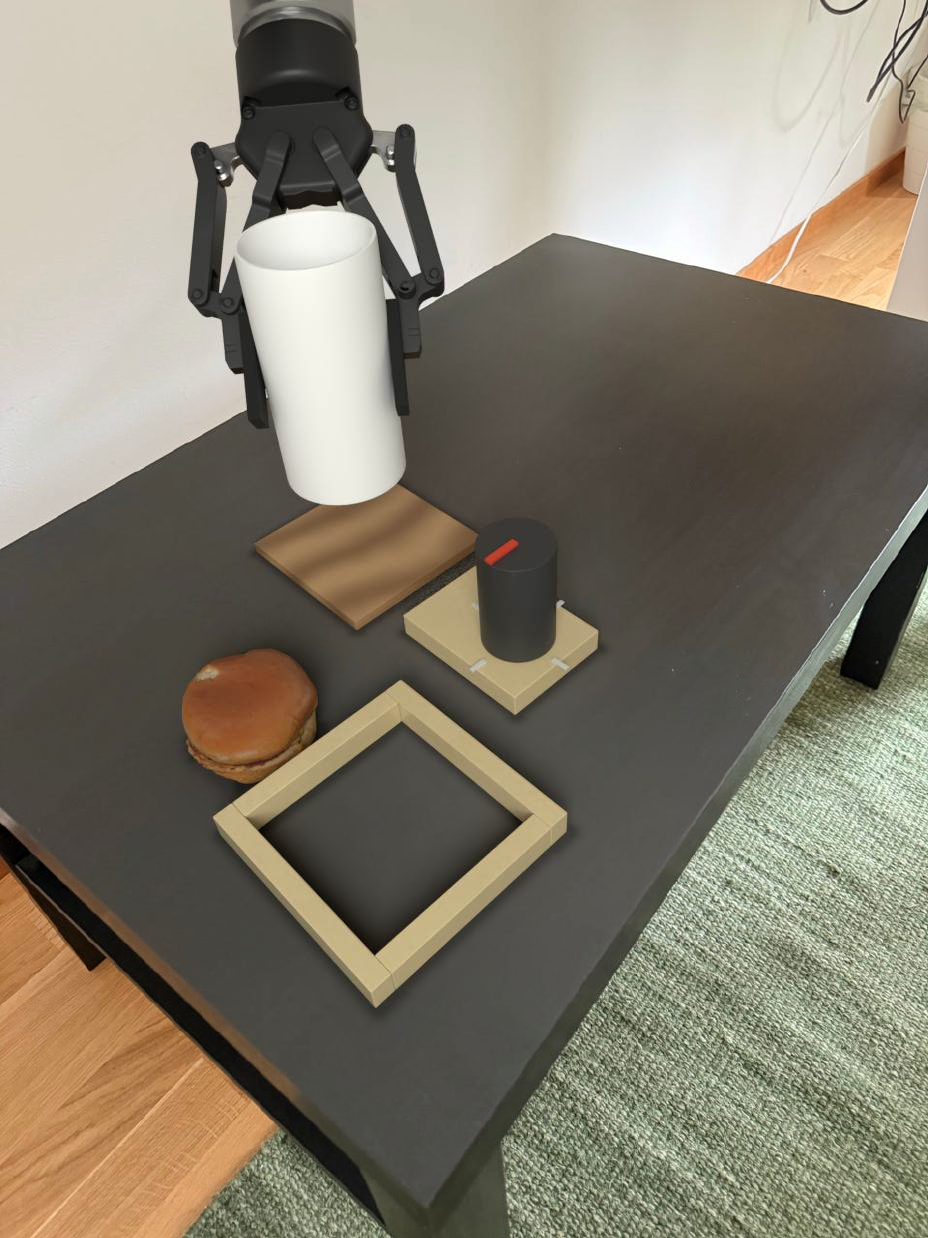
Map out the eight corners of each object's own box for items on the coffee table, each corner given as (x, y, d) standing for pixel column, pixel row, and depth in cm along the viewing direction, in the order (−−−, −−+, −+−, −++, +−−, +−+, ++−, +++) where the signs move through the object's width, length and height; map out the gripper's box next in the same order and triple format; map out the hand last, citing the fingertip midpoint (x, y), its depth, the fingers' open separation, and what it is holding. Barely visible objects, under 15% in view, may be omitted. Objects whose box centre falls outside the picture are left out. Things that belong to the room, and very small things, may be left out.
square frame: (220, 835, 61) (211, 816, 59) (403, 698, 68) (400, 679, 67) (375, 1009, 52) (370, 992, 51) (567, 831, 59) (567, 812, 58)
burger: (295, 795, 63) (281, 753, 59) (169, 776, 64) (149, 734, 61) (339, 685, 69) (329, 643, 66) (224, 671, 71) (208, 628, 68)
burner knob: (516, 598, 72) (513, 503, 65) (571, 633, 69) (574, 537, 62) (465, 637, 69) (457, 542, 63) (520, 675, 66) (518, 579, 60)
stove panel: (401, 635, 73) (398, 616, 71) (490, 573, 77) (489, 554, 76) (520, 726, 66) (519, 706, 64) (610, 651, 70) (611, 632, 69)
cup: (262, 480, 64) (201, 251, 52) (340, 422, 68) (300, 199, 57) (354, 520, 60) (310, 283, 49) (429, 455, 64) (405, 224, 53)
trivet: (256, 551, 81) (253, 543, 80) (379, 479, 87) (377, 470, 87) (356, 631, 73) (355, 622, 73) (483, 545, 80) (482, 536, 79)
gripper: (465, 71, 61) (497, 415, 61) (146, 99, 61) (178, 444, 61) (467, -6, 54) (503, 387, 54) (103, 26, 53) (140, 420, 53)
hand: (330, 417), depth 57 cm, fingers closed on cup, 8 cm apart
